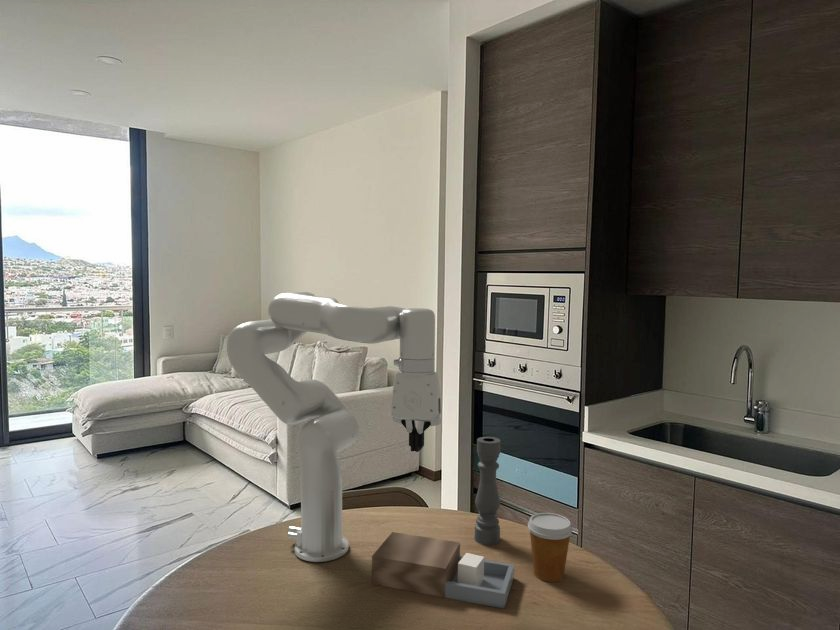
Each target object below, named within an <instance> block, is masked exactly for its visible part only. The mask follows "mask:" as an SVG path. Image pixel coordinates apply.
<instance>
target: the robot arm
mask: <svg viewBox="0 0 840 630" xmlns="http://www.w3.org/2000/svg"><path fill="white" fill-rule="evenodd" d="M267 312H268V317H269V319H262V320H261V319H260V320H253V321H247V322H243V323H241V324H239V325H237V326H235V327H234V328H233V329H232V330H231V331H229V334H228V336H227V341H226V353H227V358H228V360H229V362H230V365H231V366H232V368H233V370H234V371H235V372H236V374H238V375H239V378H241V379H242V380H243V381H245V383H246V384H247V385H248V386H249V387H250V388H252V389H253V390H254V391H255V393H256V395H258V396H259V398H260V399H261V400H262V402H264V404H266V406H267V407H268V409H270V410H271V411H272V412H273V414H274V415H275V416H276V417H277V418H278V419H279V420H280V421H281V422H282V423H283V424H284V425H288V426H290V425H291V426H292V425H297V424H301V423H303V422H305V421H306V422H305V423H304V424H303V425H302V426H301V428H300V429H299V430H298V432H297V435H296V450H297V454H298V460H299V465H300V466H299V469H300V510H301V511H300V512H301V513H300V514H301V515H300V519H301V520H300V527H299V526H295V525H290V526H289V527H288V531H287V538H288V539H290V540H291V539H292V540H293V539H294V540H296V543H295V545H294V554H295V555H296V557H298V558H299V559H300V560H303V561H306V562H311V563H322V562H330V561H333V560H336V559H339V558H341V557H343V556H344V555H345V554H347V552H348V551H349V548H350V547H349V540H348V539H347V538H346V537H345V536H343V479H342V478H343V474H342V467H341V465H340V462H339V460H338V453H340V452H341V451H343V450H345V449H347V448H349V447H350V446H351V445H353V444H354V443H355V442H356V441H357V439H358V438H359V434H360V424H359V421H358V419H357V417H356V416H355V415H354V413H353V412H352V410H351V409H350V408H349V407H348V406H346V404H345V402H343V401H342V400H341V398H339V397H338V396H337V394H335V392H334V391H333V390H332V389H331V388H330V387H329V386H328V385H326V384H325V383H324V382H322V381H320V380H317V379H313V378H312V379H305V380H301V381H297V380H295V379H294V378H293V377H292V376H291V375H290V374H289V373H288V372H287V371H286V370H285V368H284V367H283V366H282V365H280V364H279V363H278V362H276V361H274V360H272V359H271V358H269V357H268V356H267V355H268V354H269V355H270V354H275V353H280V352H282V351H285V350H287V349H289V348H290V347H291V346H292V345H294V344H295V343H296V342H297V341H298V340H299V339H301V338H302V337H303V336H304V335H305V334H307V332H309V333H313V334H314V333H315V334H316V333H317V334H320V335H321V334H322V335H327V336H328V337H331V338H334V339H337V340H342V341H347V342H352V343H353V342H355V343H360V344H371V345H372V344H374V345H375V344H379V343H384V342H388V341H393V340H399V357H398V359H394V360H393V366H396V367H398V371H396V372H395V374H394V380H393V387H392V393H391V394H392V395H391V405H390V406H391V408H390V411H391V412H390V413H391V416H392V421H393V422H395V423H398V424H401V425H402V427H404V428H405V429H406V432H407V433H408V446H409V447H410V452H415V453H419V452H420V451H421V450H422V449H423V448H424V446H425V431H426V430H428V428H429V427H436V426H440V424H441V423H442V419H441V413H442V397H441V386H440V380H439V374H438V372H437V371H435V369H436V368H435V367H436V363H435V362H436V361H435V359H436V357H435V356H436V352H435V350H436V344H435V343H436V315H435V312H434V311H433V310H432V309H429V308H416V307H415V308H414V307H413V308H404V307H403V308H402V307H398V306H392V305H391V306H377V307H362V306H360V307H359V306H353V305H346V304H341V303H339V301H338V300H337V299H336V298H334V297H329V296H318V295H315V293H311V292H308V291H307V292H306V291H295V292H291V291H289V292H283V293H282V292H281V293H279V294H278V295H275V296H274V297H273V298H272V299H271V300H270V302H269V304H268V308H267ZM310 419H311V420H310ZM416 421H417V422H418V424H417V423H416ZM416 424H417V425H416Z"/></svg>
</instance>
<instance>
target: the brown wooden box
mask: <svg viewBox="0 0 840 630" xmlns="http://www.w3.org/2000/svg"><path fill="white" fill-rule="evenodd" d="M459 556H461V542H459V541H453V540H445V539H442V538H441V539H440V538H435V537H433V538H432V537H429V536H428V537H426V536H421V535H414V534H408V533H407V534H406V533H401V532H395V531H391V533H390V534H389V535H388V536H387V538H386V539H385V540H384V541H383V543H381V545H379V547H378V548H377V549H376V550H375V552H374V553H373V555H371V584H372V585H375V586H382V587H387V588H393V589H398V590H404V591H409V592H414V593H418V594H419V593H420V594H423V595H430V596H434V597H440V598H445V583H446V581H451V582H452V581H453V579H454V577H455V575H456V573H457V571H458V563H459Z"/></svg>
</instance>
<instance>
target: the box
mask: <svg viewBox="0 0 840 630" xmlns="http://www.w3.org/2000/svg"><path fill="white" fill-rule="evenodd" d="M463 556H464V555H460V556H459V561H460V560H461V559H462V558H463ZM514 579H515V564H514V563H513V564H512V563H508V562H500V561H495V560H489V559H484V580H483V582H482V583H481V585H480V586H474V585H468V584H462V583H458V571H457V573H456V575H455V577H454V579H453V581H452V582H451V581H446V583H445V597H444V598H445V599H451V600H456V601H463V602H467V603H472V604H478V605H484V606H488V607H494V608H499V609H503V610H505V608H506V605H507V602H508V599H509V596H510V592H511V589H512V586H513V582H514Z"/></svg>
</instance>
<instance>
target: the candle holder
mask: <svg viewBox="0 0 840 630" xmlns="http://www.w3.org/2000/svg"><path fill="white" fill-rule="evenodd" d="M476 453H477V456H478V458H479V462H478V463H477V467H478V469H479V471H480V472H479V474H480V475H479V476H480V477H479V483H478V488H477V492H476V496H475V500H474V502H475V508H476V509H477V510H478V516H477V517H476V519H475V524H474V541H475V542H476V543H477V544H480V545H483V546H495V545H497V544H499V543H500V541H501V526H500V520H499V518H498V517H497V512H498V510H499V509H500V507H501V499H500V495H499V491H498V485H497V470H498V469H499V467H500V464H499V463H498V462H497V461H498V459H499V457H500V454H501V439H500V438H498V437H495V436H482V437H478V438H477V439H476Z"/></svg>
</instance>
